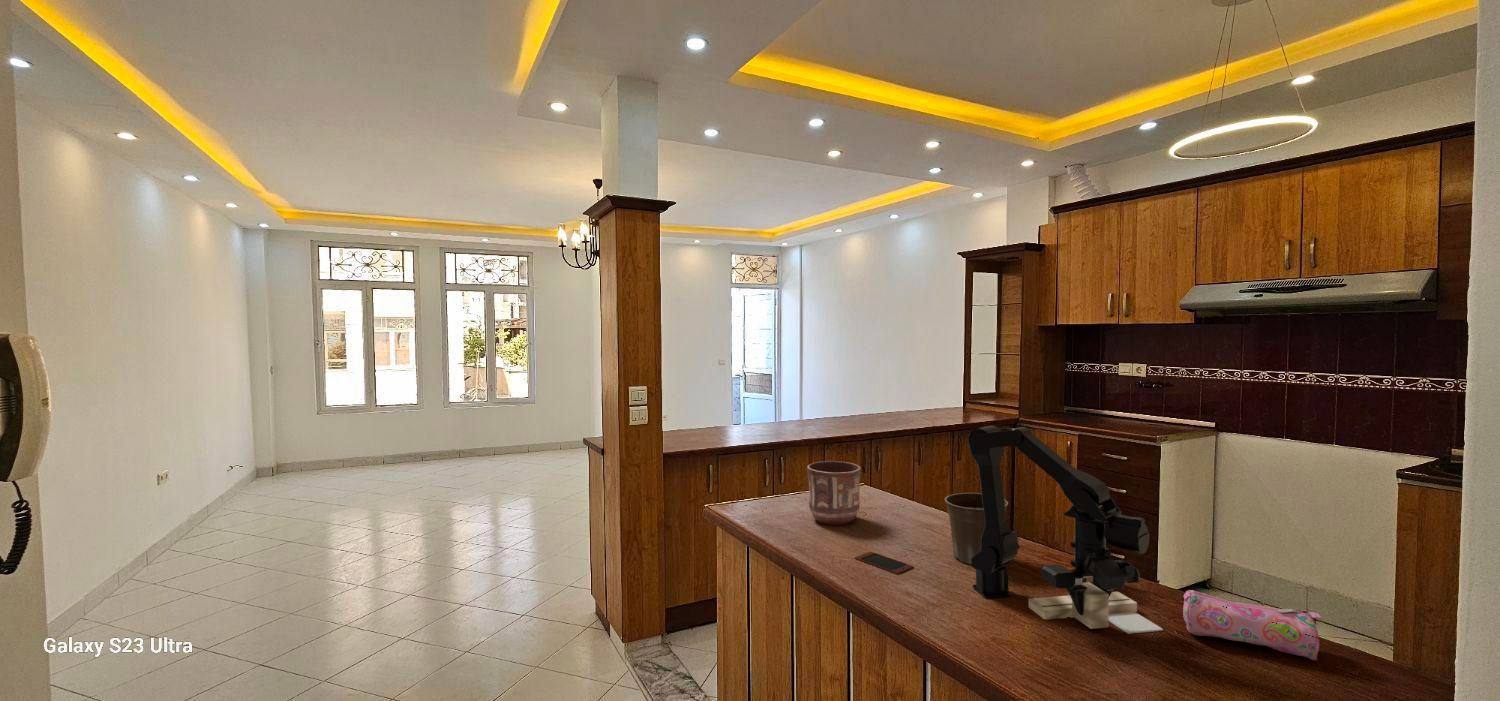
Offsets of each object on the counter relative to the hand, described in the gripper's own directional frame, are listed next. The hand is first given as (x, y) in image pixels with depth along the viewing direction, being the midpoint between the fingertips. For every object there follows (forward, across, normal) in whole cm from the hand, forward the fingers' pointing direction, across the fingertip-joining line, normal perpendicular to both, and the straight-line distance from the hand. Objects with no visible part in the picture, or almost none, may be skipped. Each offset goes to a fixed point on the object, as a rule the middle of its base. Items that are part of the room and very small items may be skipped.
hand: (1089, 613), depth 132 cm
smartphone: (+3, -31, +41) cm, 51 cm away
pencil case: (+3, +26, -12) cm, 28 cm away
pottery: (+3, -34, +80) cm, 87 cm away
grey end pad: (+3, +9, 0) cm, 10 cm away
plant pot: (+3, -5, +40) cm, 41 cm away
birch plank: (+3, +3, +7) cm, 8 cm away
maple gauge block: (+2, 0, 0) cm, 2 cm away
